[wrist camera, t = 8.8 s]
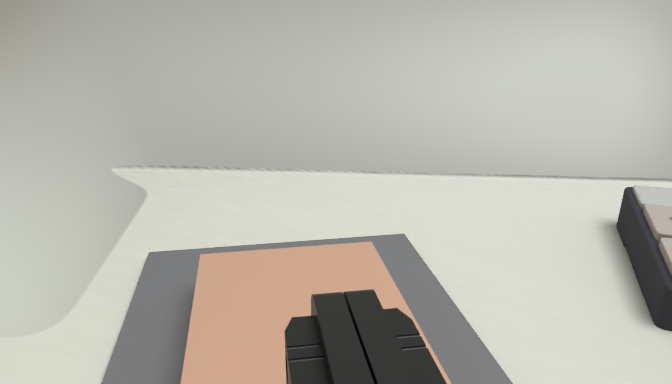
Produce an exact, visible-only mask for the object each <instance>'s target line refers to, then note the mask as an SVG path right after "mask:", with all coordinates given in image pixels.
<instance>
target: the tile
mask: <svg viewBox="0 0 672 384" xmlns="http://www.w3.org/2000/svg"><path fill="white" fill-rule="evenodd" d="M369 289H373V290H374V291H375V292H376V295H377V297H378V299H379V301H380V303H381V305H382V307H383V309H390V308H398V309H399V310H400V311H402V312H403V313H404V314H406V315H407V316H408V317H410V318H411V319H412V320H413V322H414V324H415V326H416V328H417V329H418V331H419V333H420V336H421V337H422V339H423V341H424V342H425V344H426V348H428V350H429V352H430V354H431V355H432V357H433V359H434V361H435V363H436V365H437V366H438V368H439V370H440V372H441V374H442V376H443V378H444V379H445V381H446V383H447V384H451V382H450V380H449V378H448V376H447V375H446V373H445V371H444V369H443V368H442V366H441V364H440V362H439V360H438V359H437V357H436V355H435V353H434V352H433V350H432V348H431V346H430V344H429V343H428V341H427V339H426V337H425V336H424V334H423V332H422V330H421V329H420V327H419V325H418V323H417V321H416V320H415V318H414V316H413V314H412V313H411V311H410V309H409V307H408V305H407V304H406V302H405V300H404V298H403V297H402V295H401V293H400V291H399V290H398V288H397V286H396V284H395V282H394V281H393V279H392V277H391V275H390V274H389V272H388V270H387V268H386V266H385V265H384V263H383V261H382V259H381V258H380V256H379V254H378V252H377V250H376V249H375V247H374V245H373V243H372V242H357V243H344V244H331V245H317V246H304V247H290V248H277V249H264V250H250V251H237V252H223V253H210V254H200V259H199V266H198V272H197V279H196V285H195V292H194V298H193V305H192V312H191V318H190V325H189V331H188V338H187V344H186V351H185V357H184V364H183V371H182V377H181V384H286V361H285V329H286V328H287V326H288V324H289V322H290V320H291V318H292V317H301V316H311V295H312V294H322V293H334V292H342V293H343V292H345V291H357V290H369Z"/></svg>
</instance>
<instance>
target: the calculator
mask: <svg viewBox="0 0 672 384" xmlns="http://www.w3.org/2000/svg"><path fill="white" fill-rule="evenodd" d="M617 229H618V232H619V234H620V237H621V239H622V242H623V244H624V246H625V247H627V250H628V253H629V256H630V259H631V262H632V265H633V268H634V271H635V274H636V277H637V280H638V283H639V285H640V288H641V290H642V293H643V296H644V298H645V301H646V304H647V306H648V309H649V311H650V314H651V316H652V319H653V322H654V324H655V325H656V326H657V327H659V328H661V329H664V330H668V331H672V189H670V188H660V187H650V186H639V185H635V186H633V187H627V188H625V190H624V195H623V199H622V204H621V208H620V213H619V218H618V222H617Z"/></svg>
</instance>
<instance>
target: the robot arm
mask: <svg viewBox="0 0 672 384" xmlns="http://www.w3.org/2000/svg"><path fill="white" fill-rule="evenodd" d="M285 361H286V384H447V383H446V381H445V379H444V378H443V376H442V374H441V372H440V370H439V368H438V366H437V365H436V363H435V361H434V359H433V357H432V355H431V354H430V352H429V350H428V348H426V344H425V342H424V341H423V339H422V337H421V336H420V333H419V331H418V329H417V328H416V326H415V324H414V322H413V320H412V319H411V318H410V317H408V316H407V315H406V314H404V313H403V312H402V311H400V310H399V309H398V308H390V309H383V307H382V305H381V303H380V301H379V299H378V297H377V295H376V292H375V291H374V290H373V289H369V290H357V291H345V292H343V293H342V292H334V293H322V294H312V295H311V316H301V317H292V318H291V320H290V322H289V324H288V326H287V328H286V329H285Z"/></svg>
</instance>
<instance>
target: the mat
mask: <svg viewBox="0 0 672 384" xmlns="http://www.w3.org/2000/svg"><path fill="white" fill-rule="evenodd" d="M357 242H372V243H373V245H374V247H375V249H376V250H377V252H378V254H379V256H380V258H381V259H382V261H383V263H384V265H385V266H386V268H387V270H388V272H389V274H390V275H391V277H392V279H393V281H394V282H395V284H396V286H397V288H398V290H399V291H400V293H401V295H402V297H403V298H404V300H405V302H406V304H407V305H408V307H409V309H410V311H411V313H412V314H413V316H414V318H415V320H416V321H417V323H418V325H419V327H420V329H421V330H422V332H423V334H424V336H425V337H426V339H427V341H428V343H429V344H430V346H431V348H432V350H433V352H434V353H435V355H436V357H437V359H438V360H439V362H440V364H441V366H442V368H443V369H444V371H445V373H446V375H447V376H448V378H449V380H450V382H451V384H512V382H511V381H510V379H509V378H508V377H507V375H506V374H505V372H504V371H503V370H502V368H501V367H500V366H499V364H498V363H497V361H496V360H495V359H494V357H493V356H492V355H491V353H490V352H489V350H488V349H487V348H486V346H485V345H484V344H483V342H482V341H481V339H480V338H479V337H478V335H477V334H476V332H475V331H474V330H473V328H472V327H471V326H470V324H469V323H468V321H467V320H466V319H465V317H464V316H463V315H462V313H461V312H460V310H459V309H458V308H457V306H456V305H455V304H454V302H453V301H452V299H451V298H450V297H449V295H448V294H447V292H446V291H445V290H444V288H443V287H442V286H441V284H440V283H439V281H438V280H437V279H436V277H435V276H434V275H433V273H432V272H431V270H430V269H429V268H428V266H427V265H426V264H425V262H424V261H423V259H422V258H421V257H420V255H419V254H418V252H417V251H416V250H415V248H414V247H413V246H412V244H411V243H410V241H409V240H408V239H407V237H406V236H405V235H404V234H394V235H380V236H366V237H352V238H339V239H325V240H311V241H298V242H284V243H270V244H256V245H243V246H229V247H215V248H201V249H188V250H174V251H160V252H149V254H148V257H147V259H146V262H145V265H144V268H143V271H142V273H141V276H140V279H139V282H138V284H137V287H136V290H135V293H134V295H133V298H132V301H131V304H130V307H129V309H128V312H127V315H126V318H125V320H124V323H123V326H122V329H121V332H120V334H119V337H118V340H117V343H116V345H115V348H114V351H113V354H112V356H111V359H110V362H109V365H108V368H107V370H106V373H105V376H104V379H103V381H102V384H181V377H182V371H183V364H184V357H185V351H186V344H187V338H188V331H189V325H190V318H191V312H192V305H193V298H194V292H195V285H196V279H197V272H198V266H199V259H200V254H210V253H223V252H237V251H250V250H264V249H277V248H290V247H304V246H317V245H331V244H344V243H357Z"/></svg>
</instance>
